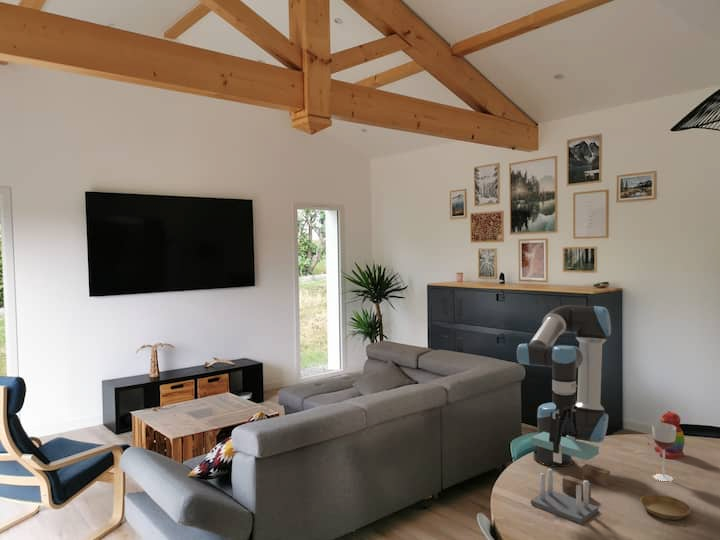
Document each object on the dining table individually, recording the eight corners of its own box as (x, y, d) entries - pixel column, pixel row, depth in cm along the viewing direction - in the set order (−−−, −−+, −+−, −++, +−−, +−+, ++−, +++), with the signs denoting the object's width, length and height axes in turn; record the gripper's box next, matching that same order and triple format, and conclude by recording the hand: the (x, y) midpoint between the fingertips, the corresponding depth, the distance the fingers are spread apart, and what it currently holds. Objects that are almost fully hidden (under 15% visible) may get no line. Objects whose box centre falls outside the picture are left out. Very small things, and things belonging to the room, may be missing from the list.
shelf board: (598, 454, 179) (598, 446, 179) (587, 460, 174) (587, 452, 174) (543, 438, 194) (543, 431, 194) (531, 444, 189) (531, 437, 189)
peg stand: (530, 504, 188) (530, 474, 187) (548, 493, 196) (548, 464, 195) (580, 523, 174) (580, 491, 174) (598, 511, 182) (598, 480, 182)
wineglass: (674, 475, 209) (675, 424, 208) (677, 484, 201) (677, 431, 200) (651, 471, 212) (651, 421, 211) (652, 480, 204) (653, 428, 203)
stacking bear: (653, 448, 236) (653, 408, 235) (678, 449, 234) (679, 409, 233) (661, 458, 225) (662, 416, 224) (688, 459, 223) (689, 417, 222)
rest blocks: (562, 491, 197) (562, 477, 197) (586, 476, 209) (586, 464, 209) (586, 499, 190) (586, 485, 190) (609, 484, 202) (609, 471, 202)
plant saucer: (641, 498, 191) (641, 490, 191) (690, 507, 184) (690, 500, 184) (638, 516, 179) (638, 508, 179) (691, 527, 171) (691, 519, 171)
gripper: (558, 400, 173) (558, 470, 174) (589, 388, 187) (589, 453, 188) (537, 395, 179) (537, 463, 180) (568, 384, 193) (568, 447, 194)
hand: (564, 458), depth 184 cm, fingers closed on shelf board, 8 cm apart
